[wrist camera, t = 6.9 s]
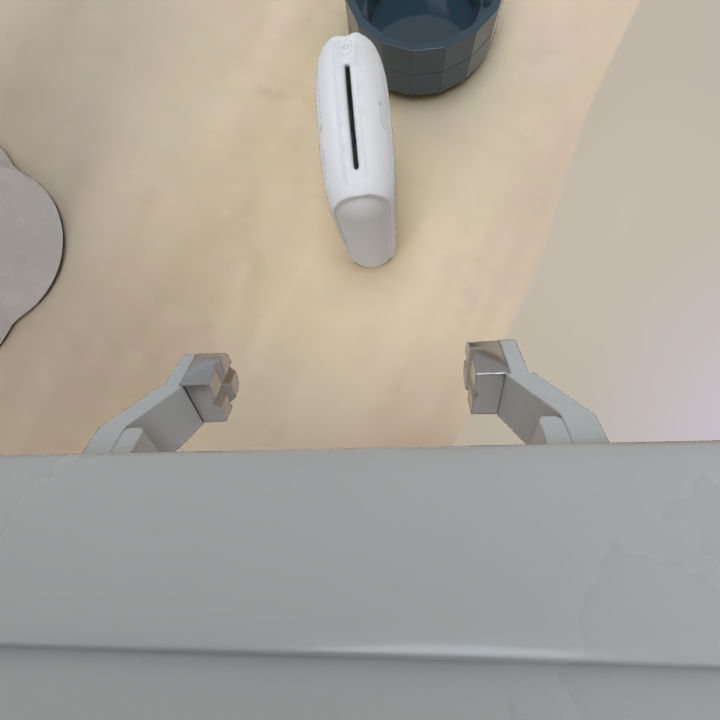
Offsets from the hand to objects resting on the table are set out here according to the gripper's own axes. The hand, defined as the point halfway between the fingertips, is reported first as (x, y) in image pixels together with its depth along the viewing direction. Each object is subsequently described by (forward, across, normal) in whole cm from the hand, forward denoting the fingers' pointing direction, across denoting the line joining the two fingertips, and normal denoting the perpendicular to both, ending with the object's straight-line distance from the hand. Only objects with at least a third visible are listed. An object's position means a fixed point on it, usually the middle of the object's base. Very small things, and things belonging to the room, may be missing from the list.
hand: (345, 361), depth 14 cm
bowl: (+33, -5, -7) cm, 34 cm away
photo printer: (+23, 0, +4) cm, 23 cm away
